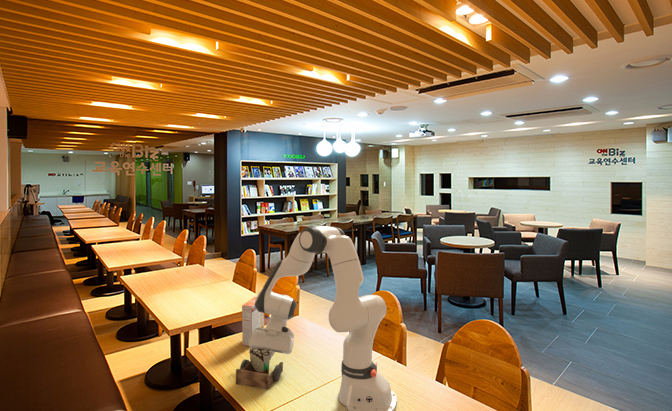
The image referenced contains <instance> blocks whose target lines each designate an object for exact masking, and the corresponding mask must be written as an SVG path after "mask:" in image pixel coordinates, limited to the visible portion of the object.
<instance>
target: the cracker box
mask: <svg viewBox="0 0 672 411" xmlns="http://www.w3.org/2000/svg"><path fill="white" fill-rule="evenodd" d="M256 297H257V296H254V297H252V298H251V299H250V300H248V301H247V302H245V303H244V304H243V305H241V322H242V323H241V324H242V325H241V326H242V328H241V330H242V335H241V336H242V338H241V339H242V346H246V347H250V346H249V344H248V343H249V340H250V338H251V336H252V334H253V331H254V329H256V328H258V327H259V328H265V313H262V312H258V311H257V309H256V307H255V299H256Z"/></svg>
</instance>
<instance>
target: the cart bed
mask: <svg viewBox="0 0 672 411" xmlns="http://www.w3.org/2000/svg"><path fill="white" fill-rule="evenodd" d="M283 372H284V362H283V361H280V362H279V363H278V364H276V365H275V366H274V368H273V370H272V371H271V372H270V373H269V375H268V374H264V373H259V372H253V371H251V362H250V359H247V358H245V359H243V360H242V361H241V363H240V366H239V368H236V369H235V384H236V385H239V386H244V387H249V388H254V389H260V390H264V391H268V390H269V388H270V387H271V386H272V384H274V383H275V381H276V382H278V381H279V380H280V378H281V375H282V373H283Z"/></svg>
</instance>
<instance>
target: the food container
mask: <svg viewBox="0 0 672 411" xmlns="http://www.w3.org/2000/svg"><path fill="white" fill-rule="evenodd" d="M248 353H249V357H250V358H249V362H251V371H253V372H259V373H264V374H268V376H269V375H270V373H269V372H270V363H271V362H270V361H271V359H272V357H271V353H270V351H269V350H268V349H266V348H262V347H256V348H251V347H250V348H249V350H248Z"/></svg>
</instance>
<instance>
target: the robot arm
mask: <svg viewBox="0 0 672 411" xmlns="http://www.w3.org/2000/svg"><path fill="white" fill-rule="evenodd" d="M322 253H323V254H325V253H326V254H327V255H328V257H329V260H330V264H331V269H332V273H333V276H334V278H333V279H334V281H335V297H334V301H333V304H332V305H331V307H330V309H329V310H328V317H327V319H328V323H329V325H330V327H331V328H332V329H333V331H335V332H336V333H348V334H347V336H345V338H344V340H343V346H342V360H341V365H340V367H341V369H340V370H341V383H340V388H339V391H338V393H337V394H338V395H337V399H338V400H339V402H340V403H341V404H342V405H343V406H345V407H346V410H347V411H395V410H396V408H397V406H398V404H397V403H398V397H397V394H396V392H395V391H393V390H392V387H391V385H390V382H389V380H388V379H386V378H385V377H384V376H383V375H382V374H380V373H379V372H378V367H377V366H378V363H377V362H375V363H374V361H372V360H373V347H374V346H373V344H374V341H375V340H374V339H375V336H376V333H377V330H378V328H379V326H380V323H381V321H382V320H383V319H384V318H385V316H386V314H387V310H388V309H387V308H388V307H387V305H386V301H385V300H384V298H383V297H382V296H380V295H377V294H366V295H362V296H359V291H360V290H359V289H360V287H361V285H362V284H363V283H364V279H365V277H364V272H363V270H362V265H361V261H360V259H359V256H358V253H357V249H356V247H355V245H354V243H353V240H352V239H351V237H350V236H348V235H346V233H345V232H344V230H343V229H341V228H339V227H337V226H334V225H333V226H329V225H326V226H325V225H316V226H313V225H312V226H308V227H305V228H303V229H302V230H301V232H299V233H298V234H297V235H296V237H295V238H294V240H293V242H292V244H291V246H290V248H289V252H288V254H287V255H286V257H285V258H284V259H281V260H278V261H277V263H276V265H275V266H274V267H273V269H272V271H271V272H270V274H269V276H268V278H267V280H266V282H265V283H264V285H263V287H262V288H261V290H260V291H259V292H258V293H257V295H256V296H255V297H256V299H255V307H256V309H257V311H258V312H262V313H264V314H268V315H270V317H269V319H268V321H267V324H266V327H264V328H259V327H258V328H256V329H254V331H253V334H252V336H251V338H250V340H249V343H248V344H249V346H248V347H250V349H251V348H256V347H262V348H266V349H268V350H269V351H270V353H271V358H272V357H273V356H274V355H275V353H279V354H285V355H290V354H291V353H292V352H293V349H294V338H295V334H294V332H293V330H291V329H292V328H291V329H290V328H289V327H287V326H288V321H289V320H291V319H293V318H294V316H295V315H294V314H295V311H296V309H297V306H298V305H297V302H296V300H295V299H294V298H292V297H291V296H289V295H287V294H280V293H277V292H274V291H273V288H274V287H275V285H276V283H277V281H279V279H281V278H284V277H299V276H302V275H304V274H306V273H307V272H308V271H309V270H310V268H311V267H312V264H313V262H314V258H315V256H316V254H322Z"/></svg>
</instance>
